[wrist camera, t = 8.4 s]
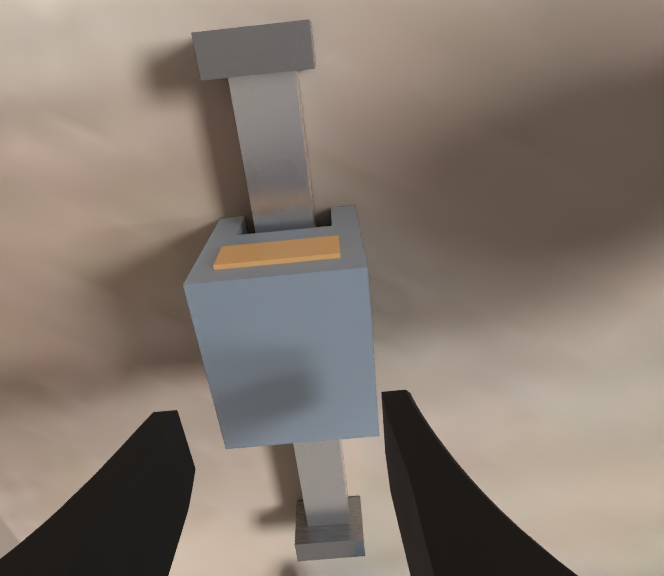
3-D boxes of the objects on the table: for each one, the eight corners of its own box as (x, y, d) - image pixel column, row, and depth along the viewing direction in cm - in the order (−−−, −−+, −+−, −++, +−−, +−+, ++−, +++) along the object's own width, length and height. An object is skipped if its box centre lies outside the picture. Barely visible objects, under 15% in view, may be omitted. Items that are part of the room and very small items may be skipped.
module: (354, 200, 18) (367, 261, 13) (365, 341, 21) (379, 436, 16) (219, 214, 18) (181, 279, 13) (248, 352, 21) (225, 448, 16)
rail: (311, 22, 15) (309, 19, 13) (361, 512, 25) (365, 555, 23) (209, 33, 15) (191, 32, 13) (300, 517, 25) (297, 561, 23)
